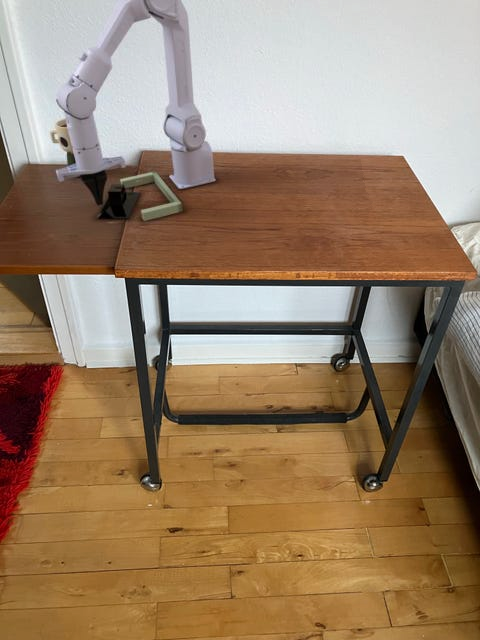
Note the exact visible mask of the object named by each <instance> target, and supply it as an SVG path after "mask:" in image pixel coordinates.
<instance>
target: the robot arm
mask: <svg viewBox="0 0 480 640" xmlns="http://www.w3.org/2000/svg"><path fill="white" fill-rule="evenodd" d="M151 18H153V19H154V20H156V22H158V23H159V24H160V25H161V27H162V37H163V46H164V59H165V68H166V70H165V71H166V79H167V81H166V82H167V90H168V91H167V92H168V101H169V103H168V104H167V106H166V107H165V109H164V111H165V117H164V120H163V124H162V125H163V126H162V127H163V133H164V134H165V136H166V137H167V138H168V139H169V143H170V152H171V159H172V161H171V162H172V168H173V174H170V175H169V179H170V180H171V181H172V182H173V184H174V185H175V186H176V187H177V188H178V189H179V190H185V189H189V188H193V187H197V186H201V185H206V184H209V183H214V182H216V177H215V167H214V166H215V165H214V155H213V150H212V147H211V145H210V143H209V141H207V140H206V136H207V133H206V127H205V126H204V124H203V121H202V115H201V113H200V111H199V109H198V108H197V106H196V105H195V102H194V101H195V99H194V87H193V71H192V69H193V68H192V56H191V40H190V22H189V15H188V11H187V10H186V7H185V5H184V4H183V1H182V0H117V2H116V3H115V5H114V7H113V9H112V11H111V13H110V15H109V18H108V19H107V21H106V23H105V26H104V28H103V29H102V32H101V34H100V36H99V37H98V39H97V42H96V44H95V45H94V46H91V47H87V48H86V49H85V50H84V52H83V51H80V53H79V54H78V56H77V58H78V59H79V60H78V62H77V64H76V65H75V68H74V69H73V70H72V73H71V74H70V75H68V76H67V78H66V81H67V82H65V83H63V84H62V85H60V87H59V88H58V90H57V95H56V96H57V97H56V98H55V102H56V104H57V106H58V107H59V108H60V109H61V110H62V111H63V114H64V119H66V123H67V128H68V132H69V136H70V140H71V144H72V148H73V153H74V157H75V161H76V164H73V165H70V166H68V165H67V166H65V167H63V168H59V169H55V172H56V176H57V179H58V181H59V183H60V182H61V183H62V182H64V181H65V180H68V179H73V178H79V177H80V179H81V181H82V183H83V184H84V185H85V186H86V187H87V189H88V191H90V193H91V195H92V197H93V200H94V202H95V204H96V206H102V205H104V191H105V187H106V183H107V180H108V175H107V173H106V171H109V170H115V169H119V168H120V169H125V168H127V165H126V161H125V158H124V157H123V156H122V155H119V156H110V157H103V152H102V148H101V142H100V137H99V133H98V129H97V123H96V120H95V116H94V112H95V111H96V108H97V99H96V98H97V97H98V96H97V95H98V93H99V91H100V90H101V88H102V86H103V85H104V83H105V82H106V79H107V78H108V76H109V74H110V73H111V71H112V69H113V63H112V56H113V55H114V53H115V52H116V51H117V49H118V47H119V46H120V44H121V43H122V41H123V40H124V38H125V37H126V36H127V33H128V32H129V30H130V29H131V28H132V26H133V25H134V24H135V23H138V22H142V21H145V20H149V19H151Z"/></svg>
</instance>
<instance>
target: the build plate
mask: <svg viewBox="0 0 480 640" xmlns="http://www.w3.org/2000/svg"><path fill="white" fill-rule="evenodd" d="M107 195H108V197H107V199H106V200H105V201H106V202H105V203H104V204H103V207H102V209H101V210H100V212H99V214H98V215H97V217H96V218H97V220H107V221H108V220H110V221H111V220H119V221H121V220H122V221H123V220H126V221H127V220H129V219H130V217H131V215H132V212H133V210H134V208H135V206H136V204H137V202H138V200H139V197H140V195H141V192H140V191H139V192H138V191H137V192H136V191H135V192H134V191H133V192H132V191H129V192H127V188H125V186H124V184H121V183H120V184H119V183H115V184H114V183H113V184H111V185H110V187H109V188H108V190H107Z"/></svg>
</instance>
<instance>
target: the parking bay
mask: <svg viewBox="0 0 480 640" xmlns="http://www.w3.org/2000/svg"><path fill="white" fill-rule="evenodd" d="M150 178H153V179H150ZM143 179H148V180H144V181H139V182H136V181H137V180H143ZM119 182H120V184H124V186H125V189H130V188H133V187H138V186H143V185H147V184H150V183H151V184H152V183H155V185H156V186H157V187H158V188H159V190H160V191H161V192H162V194H163V195H164V196H165V198H166V199H167V200H168V201H169V202H168V203H164V204H161V205H157V206H152V207H149V208H145V209H140V213H141V218H142V220H143V221H144V222H146V221H149V220H150V221H151V220H154V219H158V218H161V217H166V216H170V215H173V214H179V213H182V212H183V204H182V202H181V201H180V200H179V198H178V197H177V196H176V194H175V193H174V192H173V191H172V190H171V189H170V188H169V186H168V185H167V184H166V182H165V181H164V179H162V177H160V174H158V173H157V172H156V171H151V172H147V173H142V174H137V175H133V176H128V177H124V178H119Z"/></svg>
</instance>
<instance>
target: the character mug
mask: <svg viewBox="0 0 480 640" xmlns="http://www.w3.org/2000/svg"><path fill="white" fill-rule="evenodd" d="M54 127H55V129H51V130H49V134H50V135H49V136H50V138H51V142H52V143H53V144H59V147H60V148H61V150H63V151H64V152H66V163H67V166H70V165H73V164H76V161H75V157H74V153H73V148H72V144H71V140H70V136H69V132H68V128H67V123H66V119H65V118H62V119H59V120H57V121H56V122H54ZM55 135H56V136H57V138H56V136H55Z"/></svg>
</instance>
